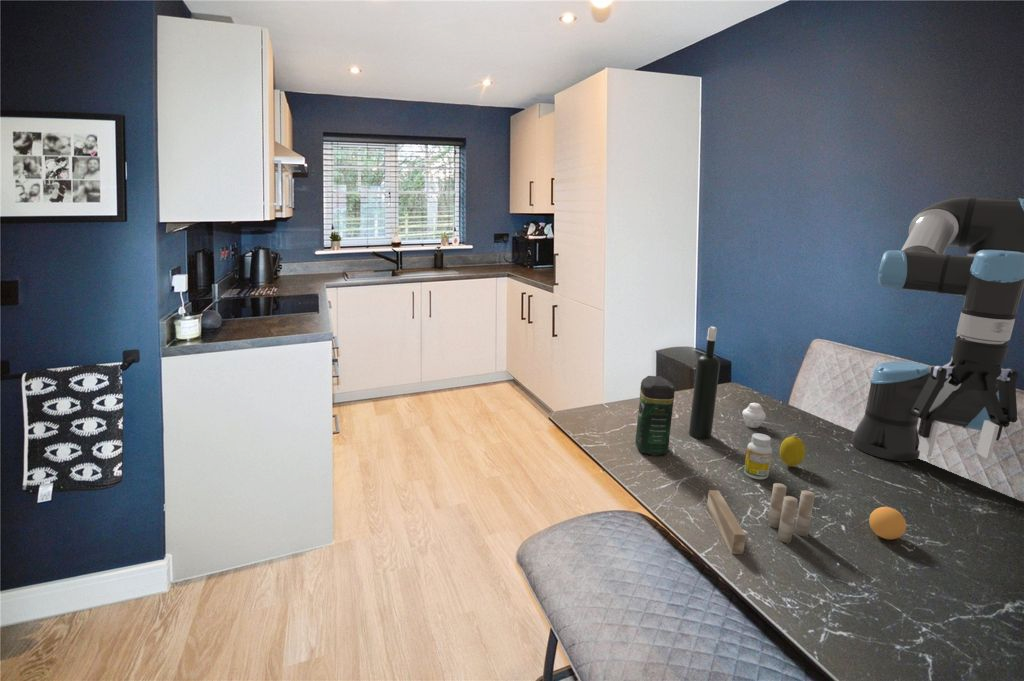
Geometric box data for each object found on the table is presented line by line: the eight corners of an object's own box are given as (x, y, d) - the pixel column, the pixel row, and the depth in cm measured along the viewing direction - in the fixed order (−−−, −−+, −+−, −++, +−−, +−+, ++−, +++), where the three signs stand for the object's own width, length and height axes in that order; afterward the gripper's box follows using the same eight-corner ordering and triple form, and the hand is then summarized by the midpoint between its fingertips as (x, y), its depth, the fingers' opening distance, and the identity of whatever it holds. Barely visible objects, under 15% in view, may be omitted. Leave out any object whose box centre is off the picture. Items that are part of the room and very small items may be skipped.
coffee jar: (671, 457, 145) (679, 386, 140) (639, 456, 145) (645, 385, 140) (663, 441, 154) (670, 373, 150) (632, 439, 154) (638, 372, 150)
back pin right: (777, 521, 118) (783, 483, 116) (782, 528, 116) (788, 489, 114) (765, 521, 118) (771, 482, 116) (770, 527, 116) (776, 488, 114)
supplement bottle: (763, 482, 134) (769, 443, 131) (740, 474, 137) (745, 436, 135) (771, 474, 138) (777, 436, 135) (748, 467, 141) (753, 430, 139)
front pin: (804, 529, 115) (811, 490, 113) (810, 536, 113) (817, 497, 111) (792, 529, 116) (799, 490, 113) (797, 536, 113) (804, 496, 111)
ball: (891, 528, 117) (896, 501, 115) (909, 546, 111) (916, 518, 109) (860, 527, 117) (865, 500, 115) (877, 545, 111) (883, 516, 110)
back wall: (716, 507, 122) (718, 490, 121) (742, 554, 107) (745, 534, 106) (706, 507, 122) (708, 490, 121) (731, 553, 107) (734, 534, 106)
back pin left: (787, 535, 113) (794, 496, 111) (793, 543, 111) (800, 502, 109) (775, 535, 113) (781, 495, 111) (780, 542, 111) (787, 502, 109)
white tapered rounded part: (761, 423, 169) (765, 400, 167) (766, 431, 163) (769, 407, 161) (739, 420, 170) (742, 398, 168) (742, 429, 164) (746, 405, 162)
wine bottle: (685, 430, 161) (697, 324, 154) (705, 430, 162) (718, 324, 154) (693, 439, 156) (706, 329, 148) (714, 439, 157) (728, 329, 149)
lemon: (805, 473, 139) (810, 442, 137) (780, 470, 140) (785, 439, 138) (799, 462, 144) (804, 432, 142) (775, 460, 145) (779, 430, 143)
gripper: (930, 341, 100) (904, 460, 106) (1066, 347, 100) (1032, 466, 105) (903, 331, 108) (880, 443, 113) (1030, 336, 107) (1000, 448, 113)
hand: (953, 454), depth 109 cm, fingers open, 10 cm apart
